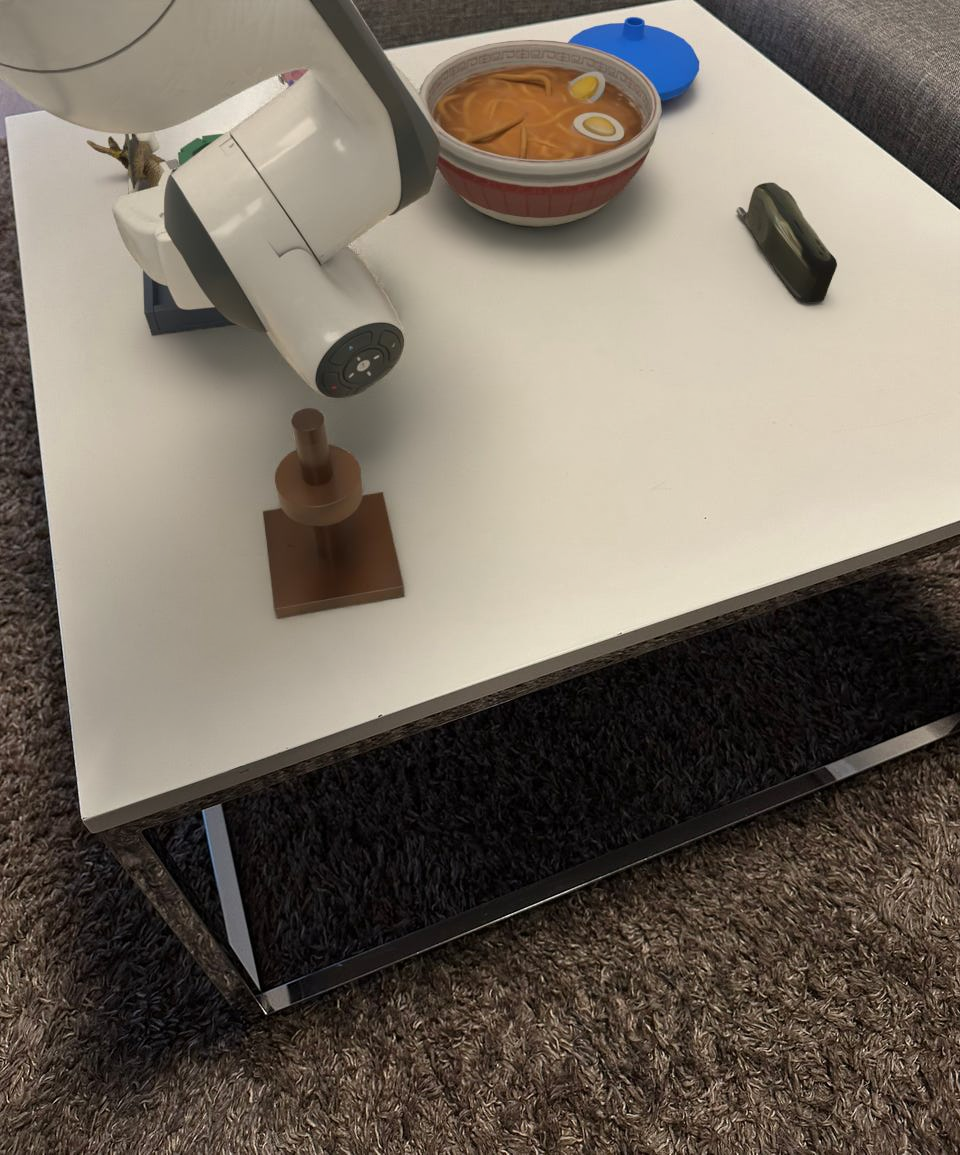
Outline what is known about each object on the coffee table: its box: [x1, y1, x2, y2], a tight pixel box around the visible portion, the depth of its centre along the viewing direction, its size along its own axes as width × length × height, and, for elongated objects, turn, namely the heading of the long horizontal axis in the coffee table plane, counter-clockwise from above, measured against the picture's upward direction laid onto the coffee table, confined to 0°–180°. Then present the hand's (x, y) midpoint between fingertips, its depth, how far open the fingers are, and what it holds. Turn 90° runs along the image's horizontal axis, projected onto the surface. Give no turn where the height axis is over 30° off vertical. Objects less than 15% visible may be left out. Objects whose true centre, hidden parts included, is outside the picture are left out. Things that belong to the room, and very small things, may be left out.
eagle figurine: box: [86, 132, 166, 194], centre depth 94 cm, size 8×7×9 cm
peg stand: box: [262, 407, 405, 619], centre depth 64 cm, size 9×9×14 cm
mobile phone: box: [736, 182, 838, 304], centre depth 90 cm, size 5×3×15 cm
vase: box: [567, 16, 700, 102], centre depth 108 cm, size 16×16×7 cm
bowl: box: [418, 39, 663, 228], centre depth 93 cm, size 23×23×10 cm
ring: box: [177, 133, 224, 166], centre depth 80 cm, size 6×6×1 cm
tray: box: [142, 269, 235, 336], centre depth 88 cm, size 17×15×2 cm
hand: (214, 156), depth 81 cm, fingers closed on ring, 7 cm apart
